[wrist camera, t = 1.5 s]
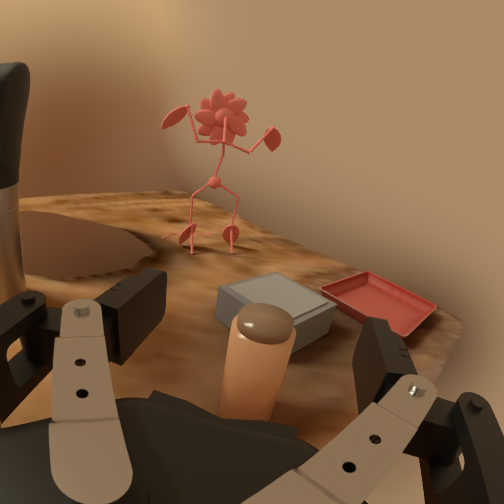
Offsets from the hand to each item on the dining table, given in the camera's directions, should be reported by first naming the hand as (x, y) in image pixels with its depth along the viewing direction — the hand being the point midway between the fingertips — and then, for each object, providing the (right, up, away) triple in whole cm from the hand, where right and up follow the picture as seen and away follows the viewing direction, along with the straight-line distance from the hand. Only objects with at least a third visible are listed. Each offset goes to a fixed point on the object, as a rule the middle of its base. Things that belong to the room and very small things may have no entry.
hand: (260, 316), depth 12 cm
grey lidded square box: (+3, -8, +33) cm, 34 cm away
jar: (-1, -14, +17) cm, 22 cm away
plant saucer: (+23, -9, +43) cm, 50 cm away
